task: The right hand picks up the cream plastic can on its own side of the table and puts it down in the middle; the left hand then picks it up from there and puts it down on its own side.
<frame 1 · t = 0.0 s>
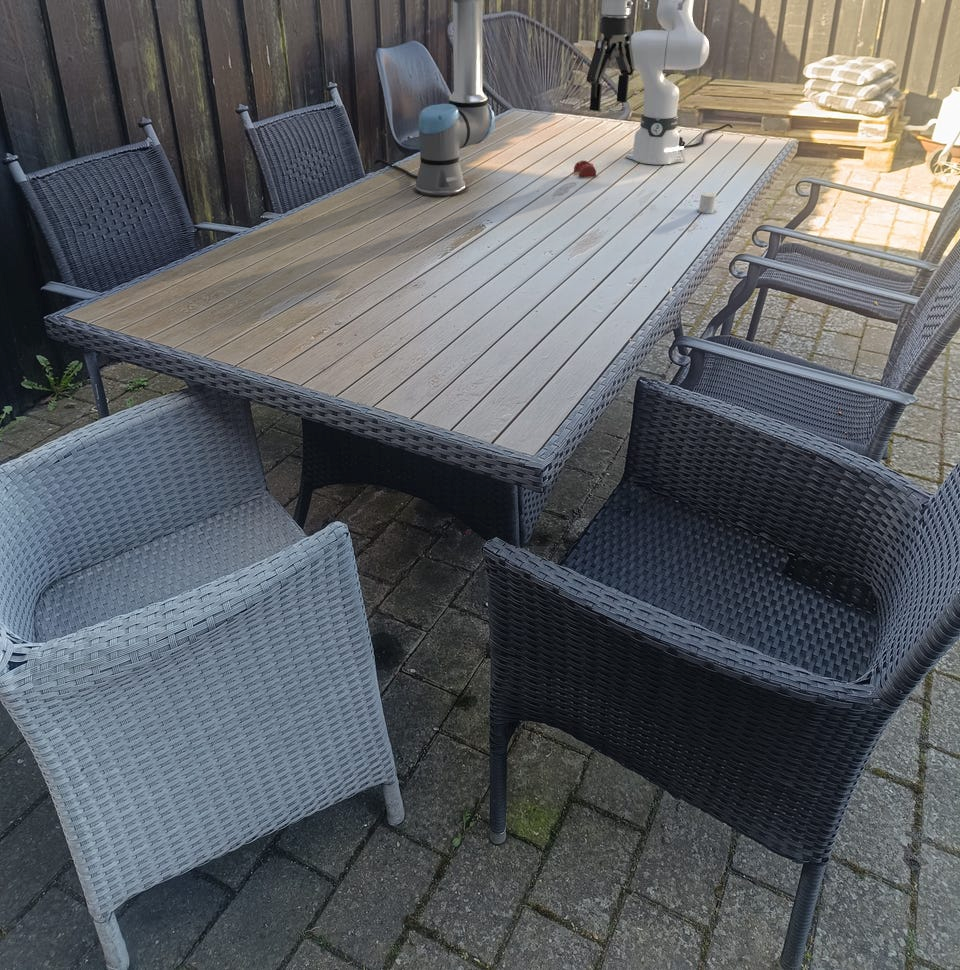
left hand: (608, 106, 226), 28 cm above the table, tool pointing down, fingers open, 13 cm apart
right hand: (662, 9, 234), 48 cm above the table, tool pointing down, fingers open, 8 cm apart
dark red lumpy piece: (584, 175, 272), on the table
can: (706, 211, 242), on the table
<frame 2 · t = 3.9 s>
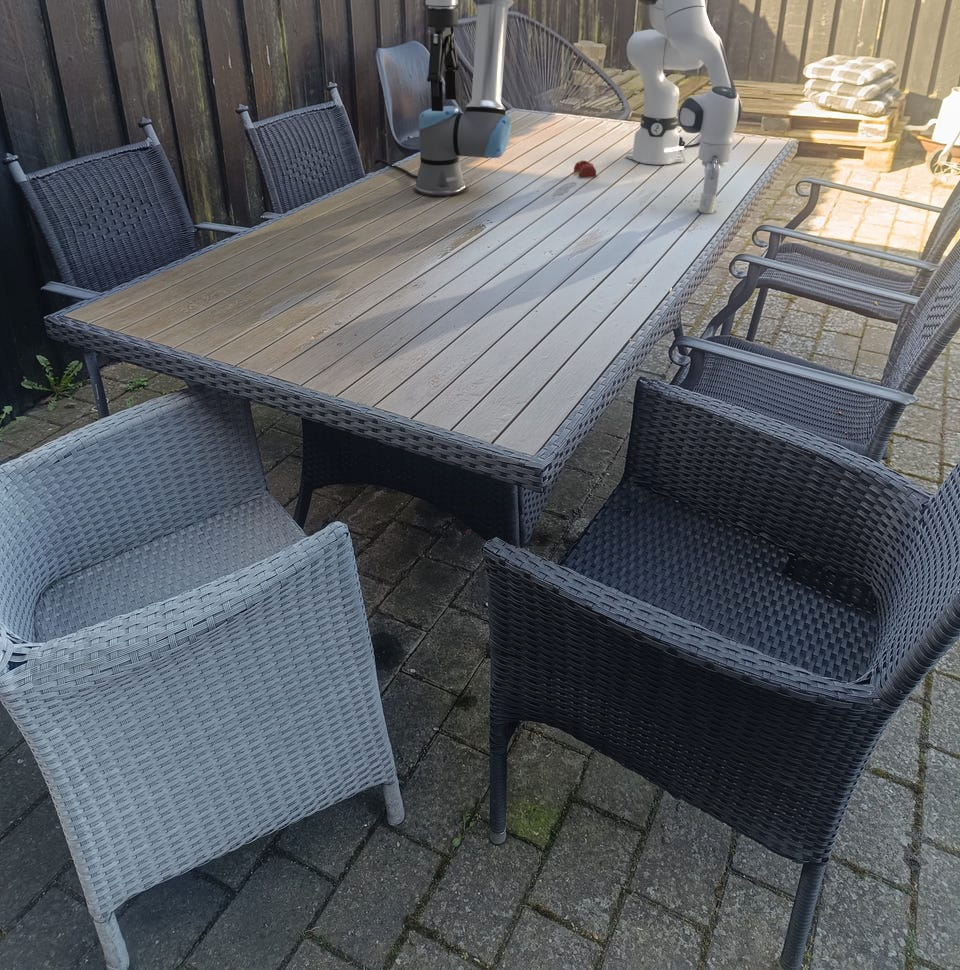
left hand: (444, 105, 208), 32 cm above the table, tool pointing down, fingers open, 13 cm apart
right hand: (707, 202, 240), 2 cm above the table, tool pointing down, fingers closed on can, 4 cm apart
can: (706, 211, 242), on the table, touching right hand
everything else where it was.
when the right hand's fingers open (3 cm above the table, at t = 8.5 s): can stays where it is, on the table.
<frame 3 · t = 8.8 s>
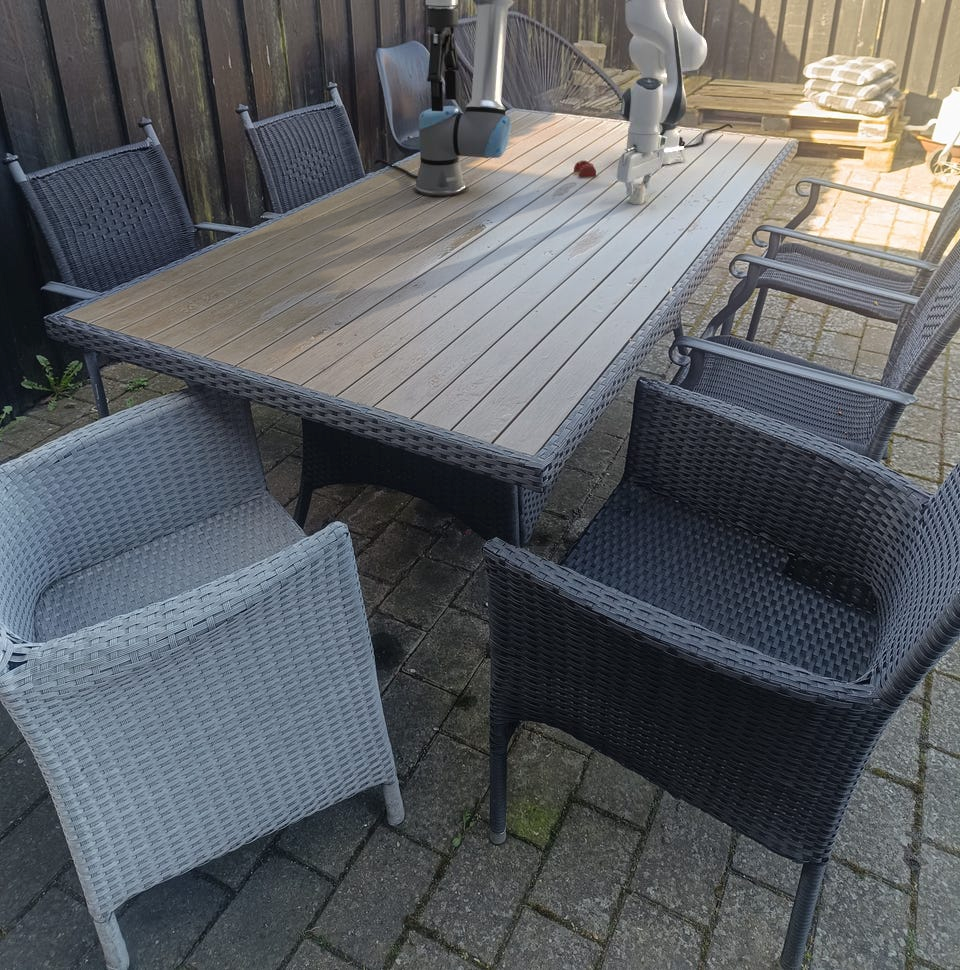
left hand: (444, 105, 208), 32 cm above the table, tool pointing down, fingers open, 13 cm apart
right hand: (637, 191, 247), 3 cm above the table, tool pointing down, fingers open, 7 cm apart
can: (636, 202, 249), on the table
everything else where it was.
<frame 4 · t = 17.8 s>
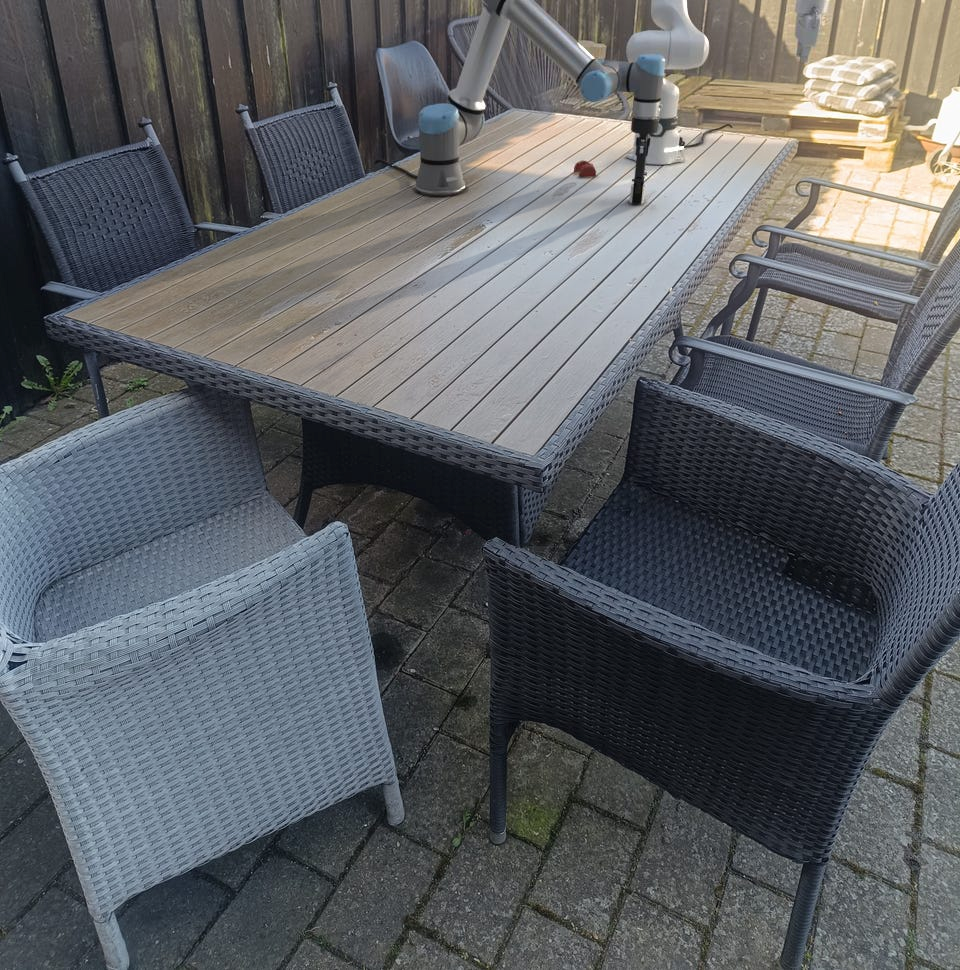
left hand: (637, 201, 248), 0 cm above the table, tool pointing down, fingers closed on can, 4 cm apart
right hand: (801, 59, 248), 34 cm above the table, tool pointing down, fingers open, 8 cm apart
can: (636, 202, 249), on the table, touching left hand
everything else where it was.
when the left hand's fingers open (1 cm above the table, at t = 28.4 s): can stays where it is, on the table.
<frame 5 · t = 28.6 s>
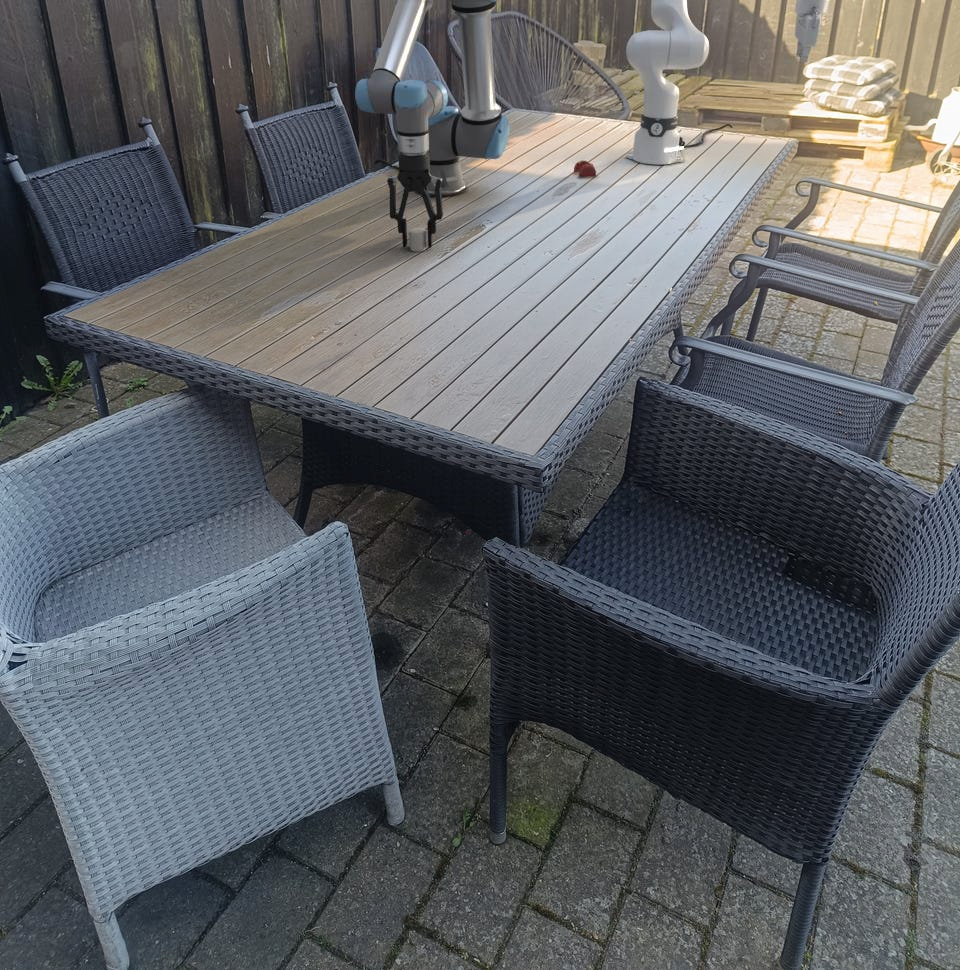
left hand: (417, 245, 217), 1 cm above the table, tool pointing down, fingers open, 6 cm apart
right hand: (801, 59, 248), 34 cm above the table, tool pointing down, fingers open, 8 cm apart
can: (418, 248, 217), on the table
everything else where it was.
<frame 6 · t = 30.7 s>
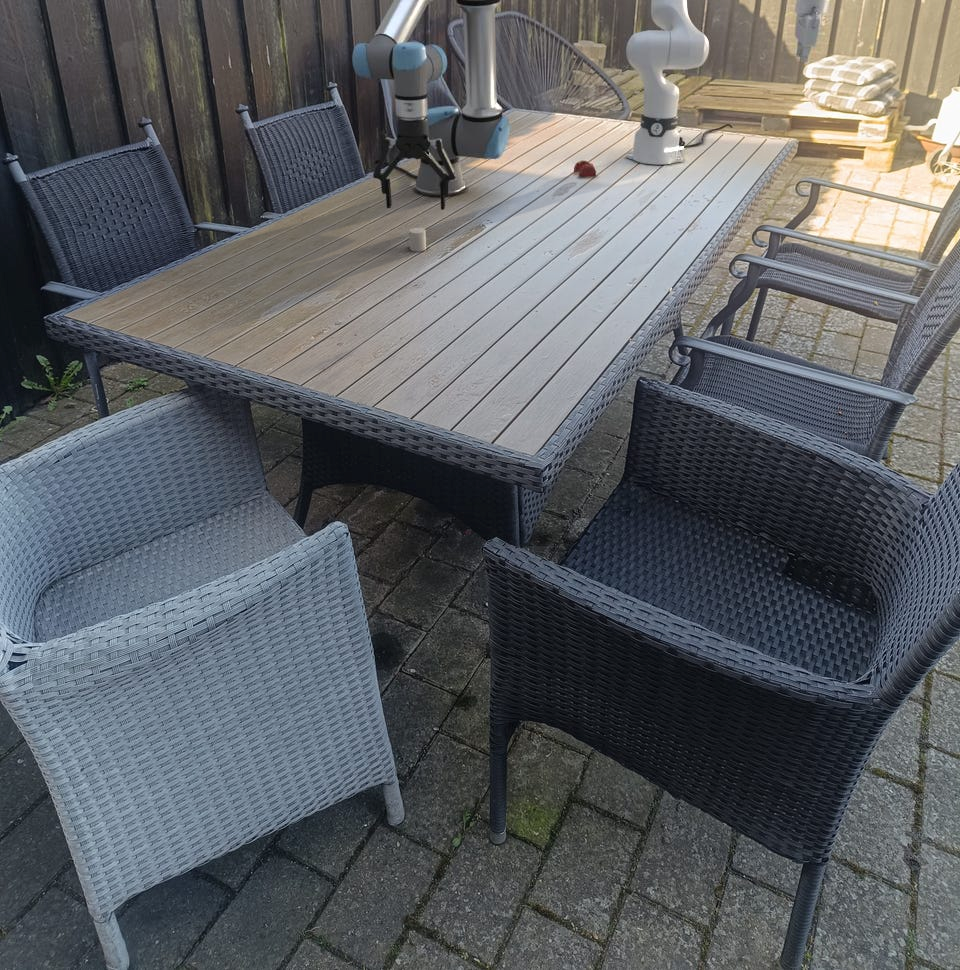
left hand: (416, 207, 211), 11 cm above the table, tool pointing down, fingers open, 13 cm apart
right hand: (801, 59, 248), 34 cm above the table, tool pointing down, fingers open, 8 cm apart
nothing on the table moved.
at the end: can inside the target area (0.1 cm from its centre), on the table; can tilted 0°; the two hands never held the can at the same time; the left hand is holding nothing; the right hand is holding nothing; can at rest at the end (0.0 cm/s) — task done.
